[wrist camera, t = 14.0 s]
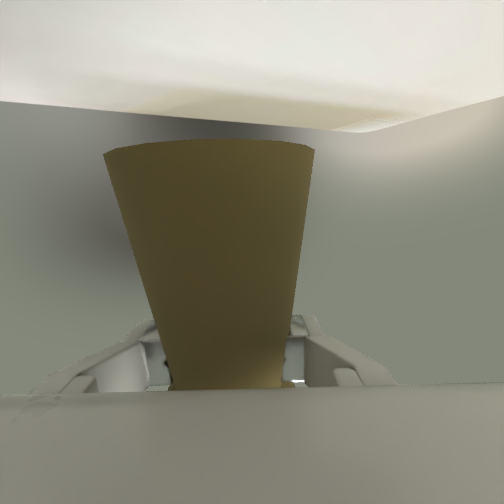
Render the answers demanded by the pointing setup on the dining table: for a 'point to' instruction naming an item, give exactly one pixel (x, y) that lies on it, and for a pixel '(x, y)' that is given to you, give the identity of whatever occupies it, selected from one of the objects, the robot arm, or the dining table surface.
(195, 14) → the dining table surface
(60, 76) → the dining table surface
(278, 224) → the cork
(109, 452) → the robot arm
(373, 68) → the dining table surface
